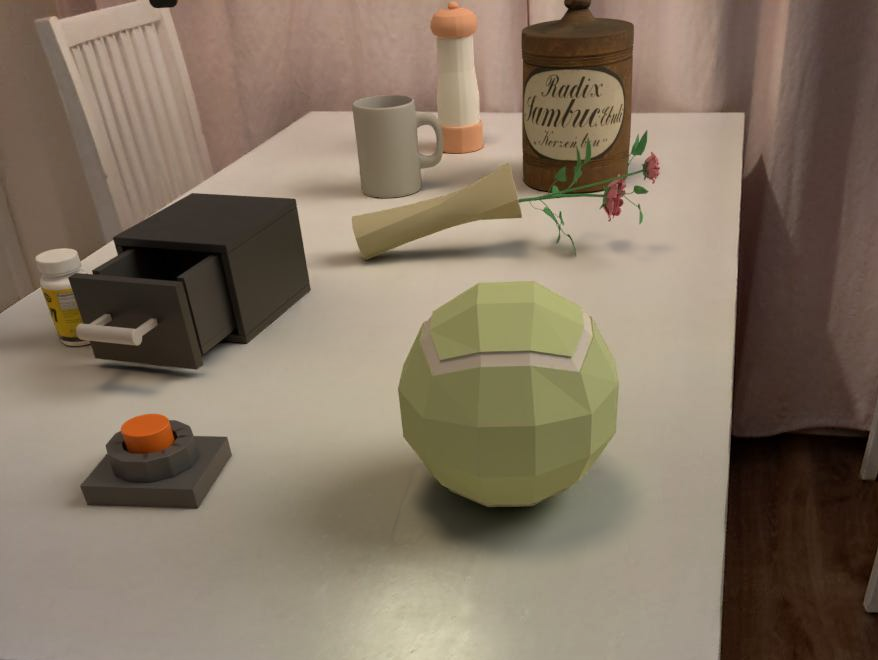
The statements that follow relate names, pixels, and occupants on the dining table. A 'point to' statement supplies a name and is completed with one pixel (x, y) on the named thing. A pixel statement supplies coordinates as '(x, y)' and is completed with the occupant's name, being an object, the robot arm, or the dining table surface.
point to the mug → (392, 145)
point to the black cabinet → (236, 250)
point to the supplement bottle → (61, 291)
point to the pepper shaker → (457, 79)
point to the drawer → (155, 306)
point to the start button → (147, 433)
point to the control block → (158, 472)
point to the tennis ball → (509, 394)
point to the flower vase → (485, 205)
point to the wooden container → (576, 98)
